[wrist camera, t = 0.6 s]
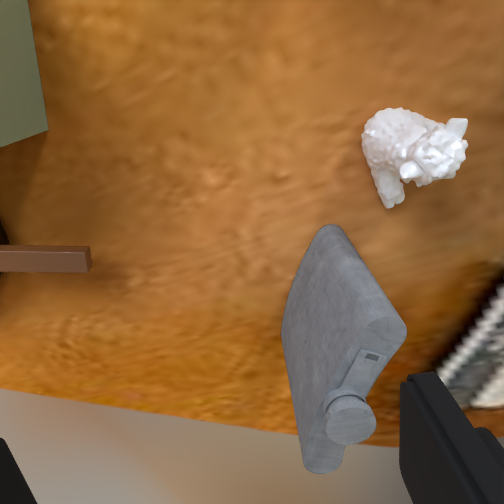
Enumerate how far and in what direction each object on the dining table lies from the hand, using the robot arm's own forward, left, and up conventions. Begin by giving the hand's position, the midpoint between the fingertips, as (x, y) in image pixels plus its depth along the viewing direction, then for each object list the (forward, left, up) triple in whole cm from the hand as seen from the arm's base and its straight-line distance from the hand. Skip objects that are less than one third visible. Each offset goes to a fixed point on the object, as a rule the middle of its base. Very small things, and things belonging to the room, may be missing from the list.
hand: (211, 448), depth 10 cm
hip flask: (+15, +9, -34) cm, 38 cm away
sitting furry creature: (-1, +16, -34) cm, 38 cm away
